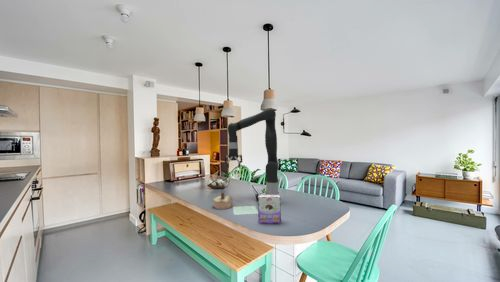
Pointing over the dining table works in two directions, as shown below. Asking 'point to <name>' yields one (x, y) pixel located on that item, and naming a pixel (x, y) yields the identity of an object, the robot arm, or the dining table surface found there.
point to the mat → (245, 210)
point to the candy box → (269, 209)
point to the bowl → (222, 205)
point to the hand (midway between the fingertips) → (233, 167)
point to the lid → (222, 198)
